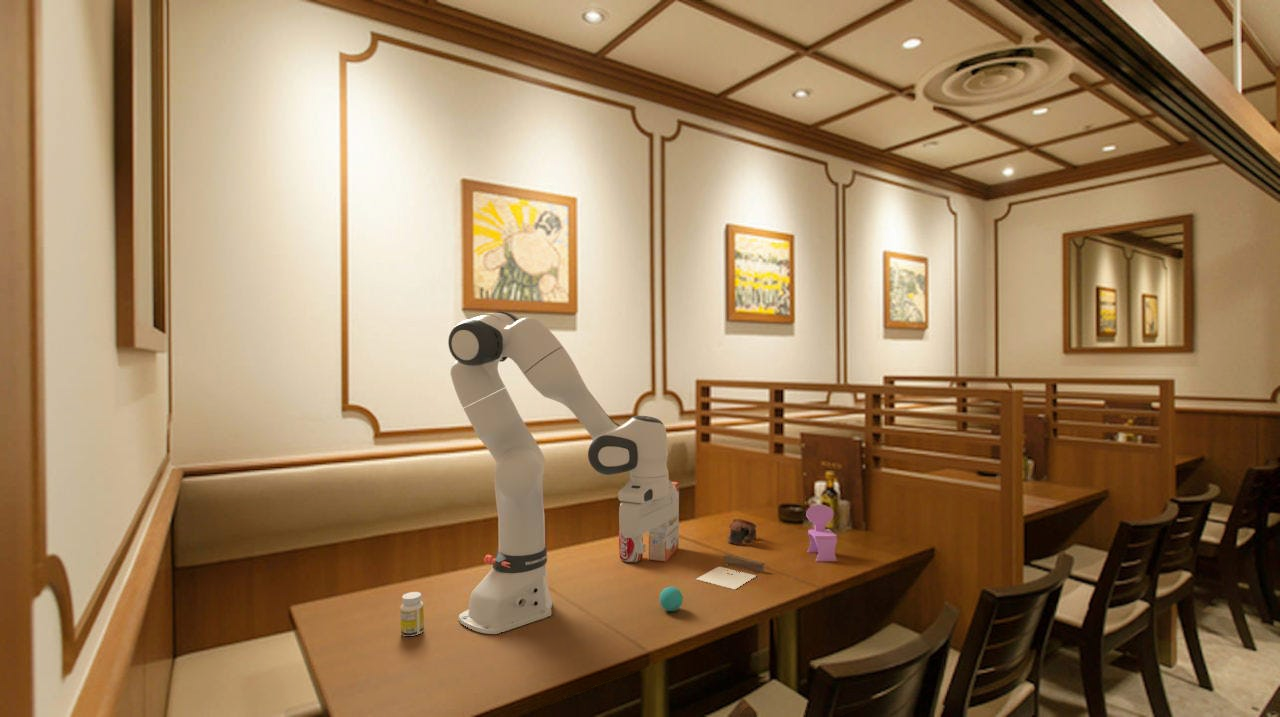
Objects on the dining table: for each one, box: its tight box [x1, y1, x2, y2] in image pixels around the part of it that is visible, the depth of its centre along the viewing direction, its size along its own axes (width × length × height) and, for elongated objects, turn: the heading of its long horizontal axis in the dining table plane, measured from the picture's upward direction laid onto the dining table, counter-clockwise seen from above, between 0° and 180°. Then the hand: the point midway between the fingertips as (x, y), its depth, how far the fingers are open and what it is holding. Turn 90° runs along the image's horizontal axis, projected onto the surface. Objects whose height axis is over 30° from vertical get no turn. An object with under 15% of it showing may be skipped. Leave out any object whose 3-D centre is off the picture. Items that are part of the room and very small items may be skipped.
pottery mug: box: [727, 518, 757, 547], centre depth 200 cm, size 12×10×8 cm
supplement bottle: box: [399, 591, 425, 637], centre depth 138 cm, size 5×5×8 cm
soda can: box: [618, 525, 644, 563], centre depth 184 cm, size 7×7×12 cm
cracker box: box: [648, 481, 680, 562], centre depth 189 cm, size 14×6×21 cm, turn 161°
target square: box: [695, 566, 757, 591], centre depth 169 cm, size 12×12×1 cm
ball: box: [659, 586, 684, 612], centre depth 148 cm, size 6×6×6 cm
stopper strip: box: [723, 554, 765, 574], centre depth 177 cm, size 2×12×2 cm, turn 52°
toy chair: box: [805, 504, 838, 562], centre depth 185 cm, size 8×9×15 cm
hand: (651, 546), depth 143 cm, fingers open, 8 cm apart
